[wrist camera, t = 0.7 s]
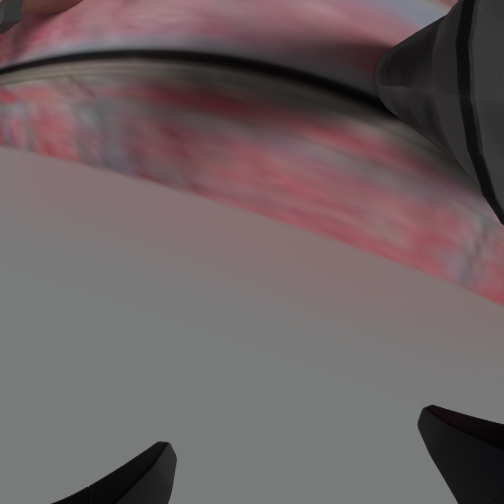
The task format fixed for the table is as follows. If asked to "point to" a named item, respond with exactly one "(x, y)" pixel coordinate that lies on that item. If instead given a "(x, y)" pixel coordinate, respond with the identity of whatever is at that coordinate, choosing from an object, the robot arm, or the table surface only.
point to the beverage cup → (455, 90)
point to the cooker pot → (29, 9)
